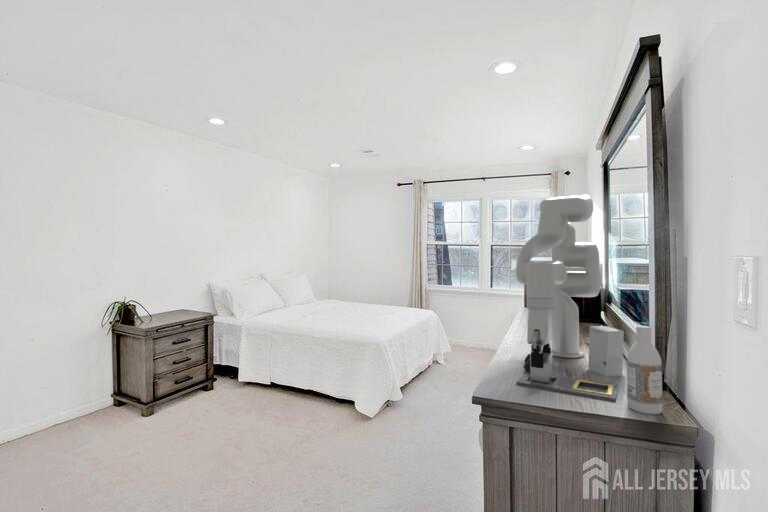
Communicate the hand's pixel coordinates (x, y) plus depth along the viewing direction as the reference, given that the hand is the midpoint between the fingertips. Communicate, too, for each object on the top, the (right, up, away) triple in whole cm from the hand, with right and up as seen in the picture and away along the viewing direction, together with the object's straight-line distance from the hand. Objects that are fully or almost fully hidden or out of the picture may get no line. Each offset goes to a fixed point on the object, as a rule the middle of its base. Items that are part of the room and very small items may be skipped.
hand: (541, 363), depth 110 cm
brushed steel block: (0, -5, 0) cm, 5 cm away
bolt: (+4, -7, +17) cm, 18 cm away
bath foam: (+18, -6, -18) cm, 26 cm away
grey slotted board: (+6, -6, -3) cm, 9 cm away
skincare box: (+24, -7, +10) cm, 27 cm away
